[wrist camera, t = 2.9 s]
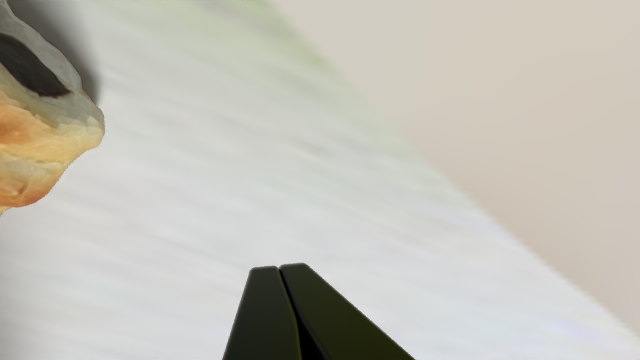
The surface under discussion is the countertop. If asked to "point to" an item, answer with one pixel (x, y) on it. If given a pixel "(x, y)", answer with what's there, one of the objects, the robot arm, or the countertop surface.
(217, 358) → the countertop surface
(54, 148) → the pastry
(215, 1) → the countertop surface
